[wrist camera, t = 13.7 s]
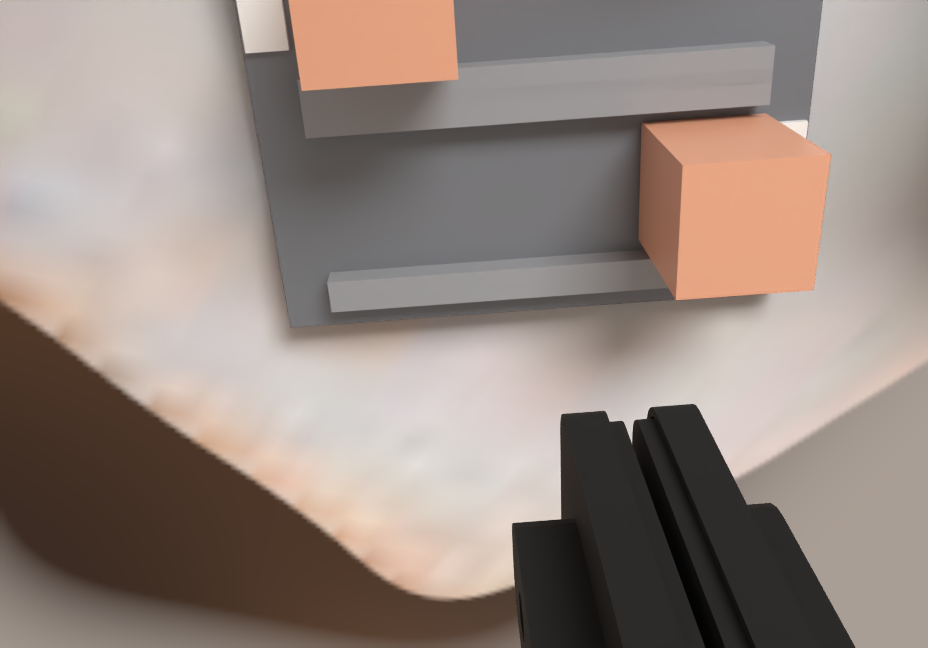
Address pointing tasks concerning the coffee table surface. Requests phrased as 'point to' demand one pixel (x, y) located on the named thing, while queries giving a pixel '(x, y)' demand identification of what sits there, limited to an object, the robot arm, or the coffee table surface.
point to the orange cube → (731, 205)
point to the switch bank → (504, 151)
